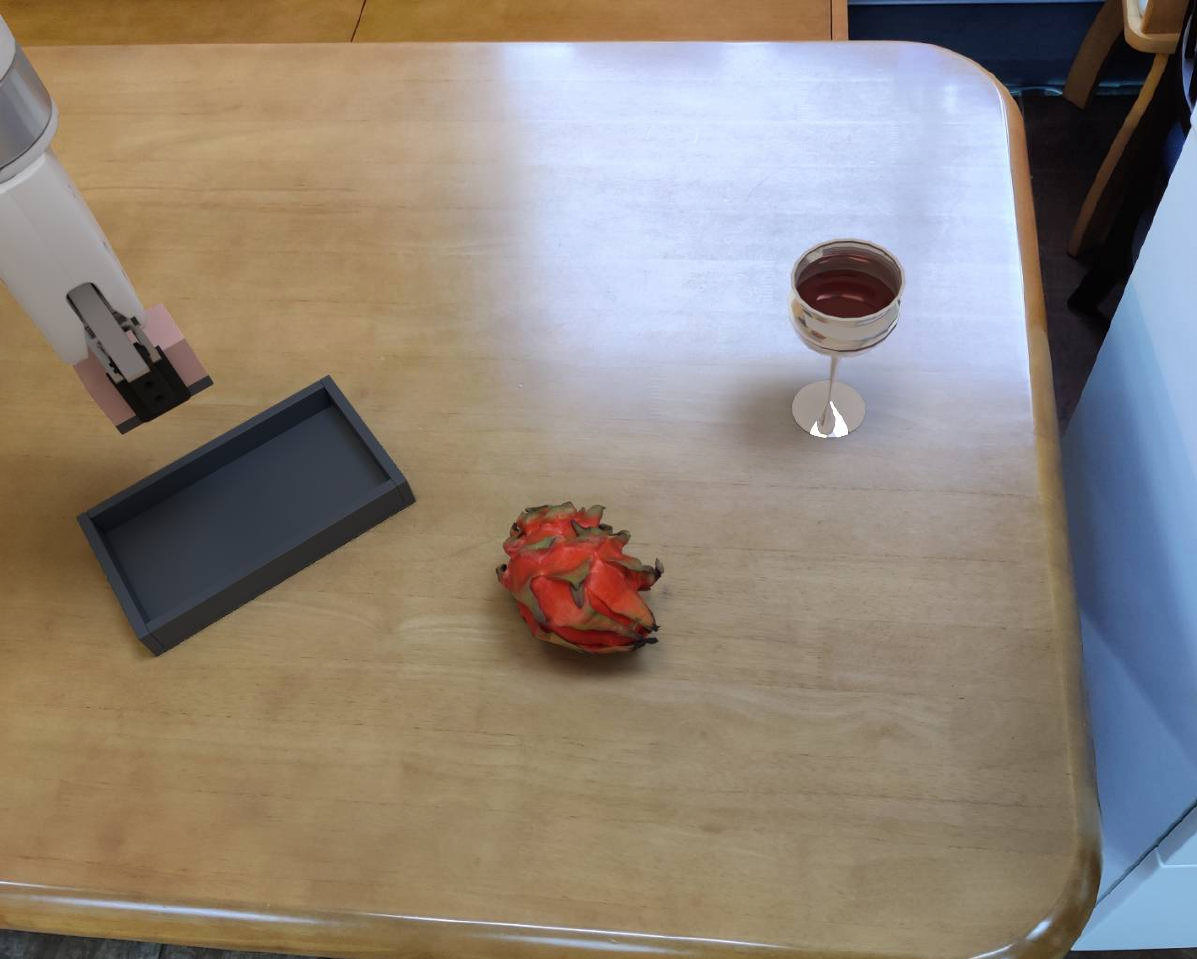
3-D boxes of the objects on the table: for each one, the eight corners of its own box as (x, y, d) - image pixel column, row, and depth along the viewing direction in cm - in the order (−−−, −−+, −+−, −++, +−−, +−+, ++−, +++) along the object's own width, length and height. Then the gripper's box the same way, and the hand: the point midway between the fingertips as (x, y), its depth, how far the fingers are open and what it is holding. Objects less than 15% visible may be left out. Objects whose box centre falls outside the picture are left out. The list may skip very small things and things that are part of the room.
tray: (156, 657, 68) (138, 639, 66) (93, 536, 73) (74, 516, 71) (416, 501, 72) (407, 480, 70) (339, 396, 77) (328, 374, 75)
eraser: (122, 435, 61) (86, 391, 58) (100, 398, 63) (64, 352, 59) (214, 384, 62) (185, 337, 59) (191, 349, 64) (161, 301, 60)
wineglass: (760, 393, 74) (768, 263, 63) (846, 356, 74) (867, 222, 64) (809, 463, 70) (826, 338, 60) (898, 424, 71) (929, 294, 61)
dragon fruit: (528, 552, 71) (655, 674, 68) (441, 588, 64) (576, 725, 61) (581, 455, 66) (721, 582, 63) (493, 484, 59) (643, 627, 56)
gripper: (-173, 58, 49) (46, 334, 65) (-71, 256, 41) (148, 512, 57) (-21, -10, 50) (156, 276, 66) (104, 169, 43) (269, 442, 59)
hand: (151, 383), depth 62 cm, fingers closed on eraser, 3 cm apart
